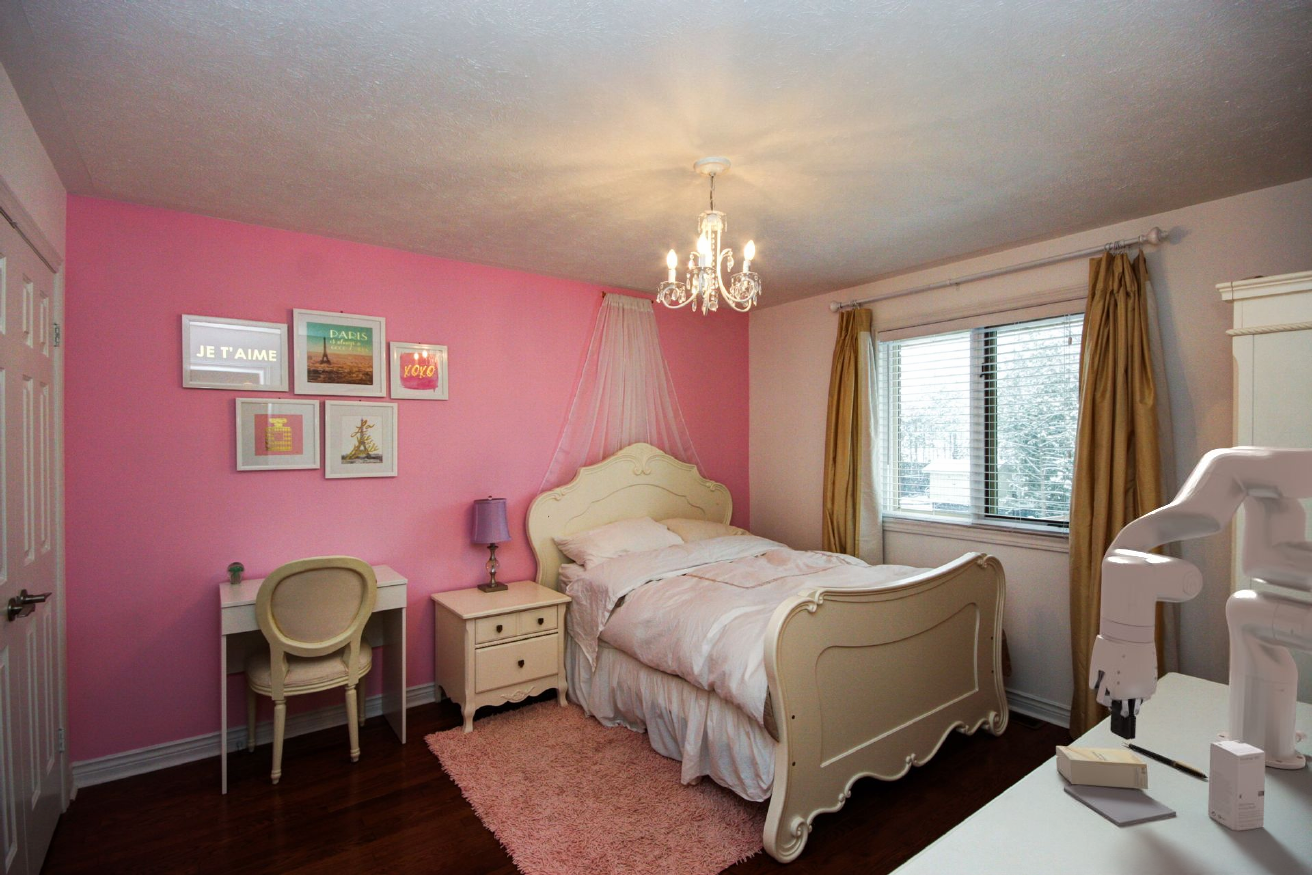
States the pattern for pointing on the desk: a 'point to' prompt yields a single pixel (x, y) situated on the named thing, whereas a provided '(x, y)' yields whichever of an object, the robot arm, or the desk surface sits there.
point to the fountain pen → (1168, 761)
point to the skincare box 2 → (1236, 785)
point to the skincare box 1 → (1102, 767)
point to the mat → (1120, 803)
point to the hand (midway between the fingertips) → (1122, 735)
